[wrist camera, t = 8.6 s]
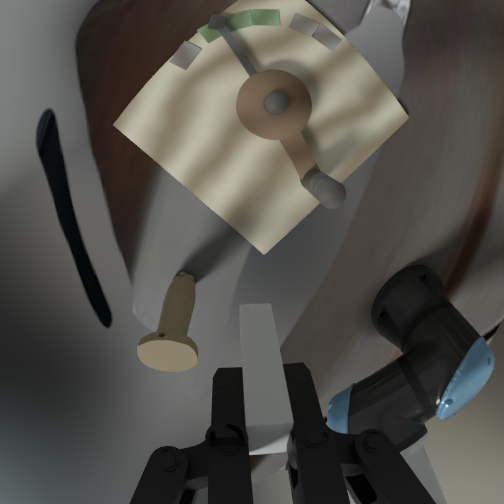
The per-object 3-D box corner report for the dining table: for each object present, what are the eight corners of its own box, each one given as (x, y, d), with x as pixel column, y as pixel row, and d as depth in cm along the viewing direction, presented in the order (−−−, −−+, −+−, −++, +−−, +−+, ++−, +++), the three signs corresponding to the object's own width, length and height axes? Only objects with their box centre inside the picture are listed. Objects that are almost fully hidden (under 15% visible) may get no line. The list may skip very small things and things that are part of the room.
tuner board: (404, 117, 30) (409, 118, 29) (263, 250, 38) (264, 255, 37) (271, -21, 21) (272, -25, 20) (115, 123, 29) (111, 123, 27)
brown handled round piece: (182, 33, 23) (168, 8, 16) (243, 4, 22) (246, -26, 15) (287, 202, 34) (302, 226, 26) (342, 173, 32) (371, 189, 25)
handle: (160, 267, 38) (131, 340, 25) (203, 263, 38) (192, 339, 25) (167, 295, 40) (145, 371, 27) (208, 292, 40) (201, 370, 27)
